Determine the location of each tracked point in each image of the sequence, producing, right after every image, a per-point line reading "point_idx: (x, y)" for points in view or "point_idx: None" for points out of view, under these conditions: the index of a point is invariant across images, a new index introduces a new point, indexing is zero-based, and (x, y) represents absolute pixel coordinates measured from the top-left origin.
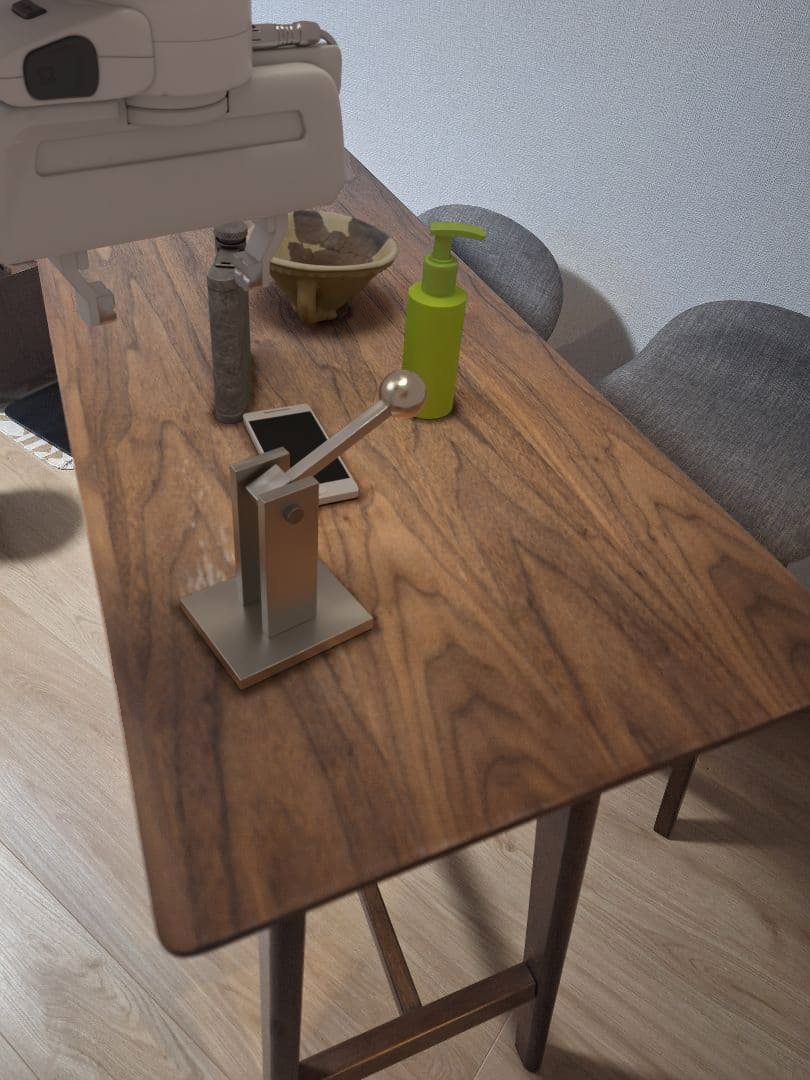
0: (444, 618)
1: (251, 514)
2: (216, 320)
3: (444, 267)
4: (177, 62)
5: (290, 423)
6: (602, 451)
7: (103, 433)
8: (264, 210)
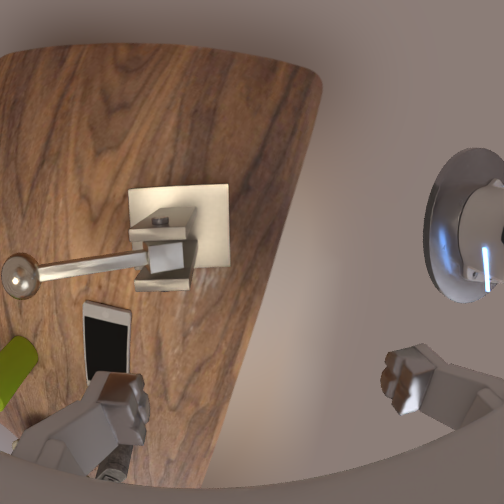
0: (89, 174)
1: None
2: (127, 450)
3: None
4: None
5: None
6: None
7: (210, 414)
8: (50, 482)
